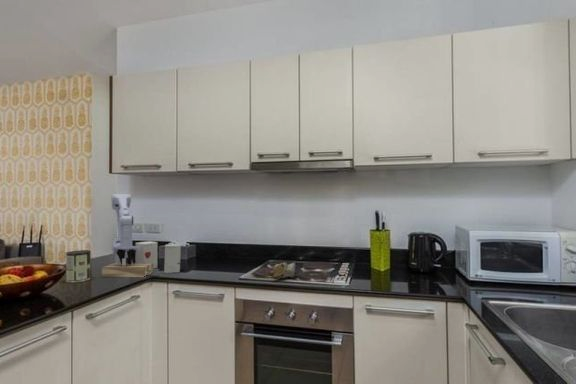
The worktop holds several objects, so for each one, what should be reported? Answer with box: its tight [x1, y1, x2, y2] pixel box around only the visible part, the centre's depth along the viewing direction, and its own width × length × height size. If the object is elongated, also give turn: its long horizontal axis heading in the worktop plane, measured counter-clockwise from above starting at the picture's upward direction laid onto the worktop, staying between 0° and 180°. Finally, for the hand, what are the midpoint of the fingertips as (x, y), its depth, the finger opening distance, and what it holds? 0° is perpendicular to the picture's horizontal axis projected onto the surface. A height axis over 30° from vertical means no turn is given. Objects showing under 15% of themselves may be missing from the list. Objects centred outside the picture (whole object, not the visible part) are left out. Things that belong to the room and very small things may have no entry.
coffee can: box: [65, 249, 92, 284], centre depth 162 cm, size 10×10×14 cm
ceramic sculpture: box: [264, 260, 296, 280], centre depth 163 cm, size 11×9×15 cm
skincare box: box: [163, 243, 182, 274], centre depth 180 cm, size 8×6×15 cm
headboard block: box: [101, 262, 154, 278], centre depth 173 cm, size 10×22×5 cm, turn 88°
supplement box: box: [134, 241, 159, 269], centre depth 190 cm, size 9×9×15 cm
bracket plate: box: [122, 257, 130, 267], centre depth 173 cm, size 4×2×8 cm, turn 178°
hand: (126, 263), depth 173 cm, fingers open, 3 cm apart
